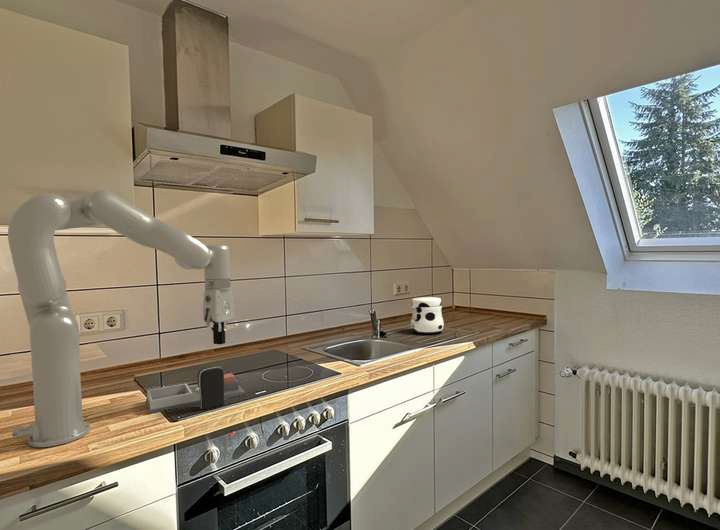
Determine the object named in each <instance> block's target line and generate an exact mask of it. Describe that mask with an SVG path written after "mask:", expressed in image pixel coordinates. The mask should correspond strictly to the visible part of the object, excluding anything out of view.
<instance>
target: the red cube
mask: <svg viewBox="0 0 720 530" xmlns="http://www.w3.org/2000/svg"><path fill="white" fill-rule="evenodd" d="M235 379H236V376H235V375H234V374H233V373H232V372H231V373H226V374H224V384H226V383H231V382H235Z"/></svg>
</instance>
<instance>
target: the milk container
mask: <svg viewBox="0 0 720 530" xmlns="http://www.w3.org/2000/svg"><path fill="white" fill-rule="evenodd" d="M442 308H443V306H442V299H441V298H440V297H431V296H430V297H429V296H427V297H426V296H425V297H424V296H423V297H422V296H421V297H414V298H411V317H410V318H411V319H410V328H411V331H413V332H414V333H418V334H421V335H425V334H426V335H427V334H428V335H431V334H432V335H433V334H438V333H440V332H442V331H443V329H444V326H445V322H444V318H443V313H442V310H443V309H442Z"/></svg>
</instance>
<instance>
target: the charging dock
mask: <svg viewBox="0 0 720 530" xmlns="http://www.w3.org/2000/svg"><path fill="white" fill-rule="evenodd" d="M146 392H147V393H146V394H147V397H146V398H145V403H146V407H147V410H148V411H147V412H148V414H149V415H151V414H157V413H161V412H165V411H164V410H167V411H169V410H168V409H172V410H176V409H175V408H177V409H180V407H182V408H186V406H187V407H191V406H195V404H196V405H200V392H199V387H198V386H197V387H195V389H190V387H189V386H188V384H187V383H182V384H174V385H170V386H164V387H158V388H153V389H152V388H151V389H147V390H146ZM243 394H245V395H246V391H245V390H244V388H242V387H241V386H240V385H239V381H238V380H237V379H236V378H235V382H231V383H226V384H224V400H225V398H226V399H230V398H234V396H235V397H240V396H244V395H243ZM239 395H240V396H239ZM190 405H191V406H190Z"/></svg>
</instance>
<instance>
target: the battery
mask: <svg viewBox="0 0 720 530" xmlns="http://www.w3.org/2000/svg"><path fill="white" fill-rule="evenodd" d="M224 375H225V374H224V369H223V368H222V367H220V366H219V365H218V366H217V365H213V366H208V367H204V368H203V367H202V368H200V369H199V370H198V372H197V387H199V392H200V404H199V408H200V409H201V410H202V409H203V410H208V408H209V409H212V407H213V408H216V407H219V405H220V406H222V404H223V405H225V399H224ZM215 406H216V407H215Z"/></svg>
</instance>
